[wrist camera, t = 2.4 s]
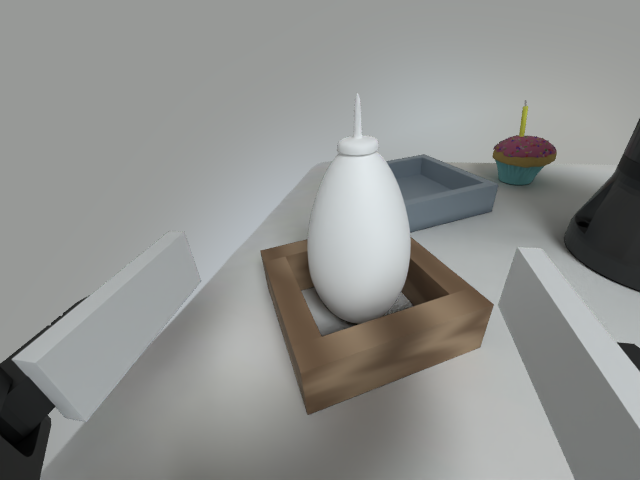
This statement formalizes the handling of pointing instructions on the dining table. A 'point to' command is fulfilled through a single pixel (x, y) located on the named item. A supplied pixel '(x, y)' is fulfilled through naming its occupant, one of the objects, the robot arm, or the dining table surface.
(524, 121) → the cupcake
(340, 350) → the socket block
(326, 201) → the sauce bottle
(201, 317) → the dining table surface
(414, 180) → the tray
